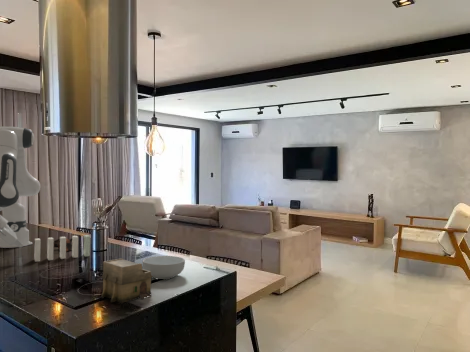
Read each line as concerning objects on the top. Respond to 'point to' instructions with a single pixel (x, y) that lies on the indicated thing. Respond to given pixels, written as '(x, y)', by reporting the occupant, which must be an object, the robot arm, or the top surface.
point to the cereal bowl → (164, 266)
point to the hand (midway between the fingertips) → (22, 246)
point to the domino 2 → (50, 248)
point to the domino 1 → (37, 250)
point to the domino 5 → (86, 245)
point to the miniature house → (125, 280)
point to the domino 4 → (74, 246)
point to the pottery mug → (68, 244)
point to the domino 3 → (63, 247)
